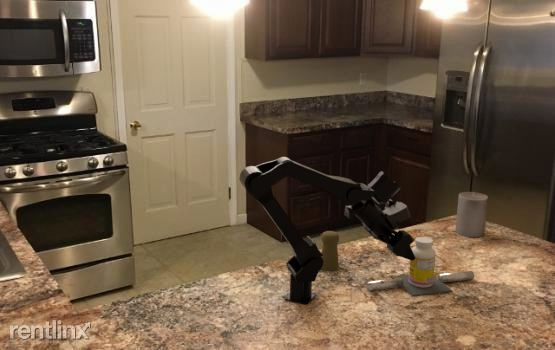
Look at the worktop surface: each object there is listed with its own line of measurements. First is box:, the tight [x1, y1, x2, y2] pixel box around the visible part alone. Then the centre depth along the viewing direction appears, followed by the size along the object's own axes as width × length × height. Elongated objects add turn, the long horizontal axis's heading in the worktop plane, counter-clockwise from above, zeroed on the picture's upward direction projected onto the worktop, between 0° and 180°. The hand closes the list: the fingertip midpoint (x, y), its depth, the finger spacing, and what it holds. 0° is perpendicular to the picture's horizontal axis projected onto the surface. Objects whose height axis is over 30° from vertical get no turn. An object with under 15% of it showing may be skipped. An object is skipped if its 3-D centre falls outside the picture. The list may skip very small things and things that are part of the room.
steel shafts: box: [365, 270, 475, 291], centre depth 155 cm, size 32×2×2 cm, turn 105°
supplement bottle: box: [408, 236, 437, 288], centre depth 154 cm, size 7×7×13 cm
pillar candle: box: [454, 191, 489, 238], centre depth 195 cm, size 10×10×15 cm
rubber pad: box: [391, 274, 453, 297], centre depth 155 cm, size 12×12×1 cm
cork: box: [320, 230, 340, 273], centre depth 164 cm, size 6×6×11 cm
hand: (405, 252), depth 152 cm, fingers open, 9 cm apart
